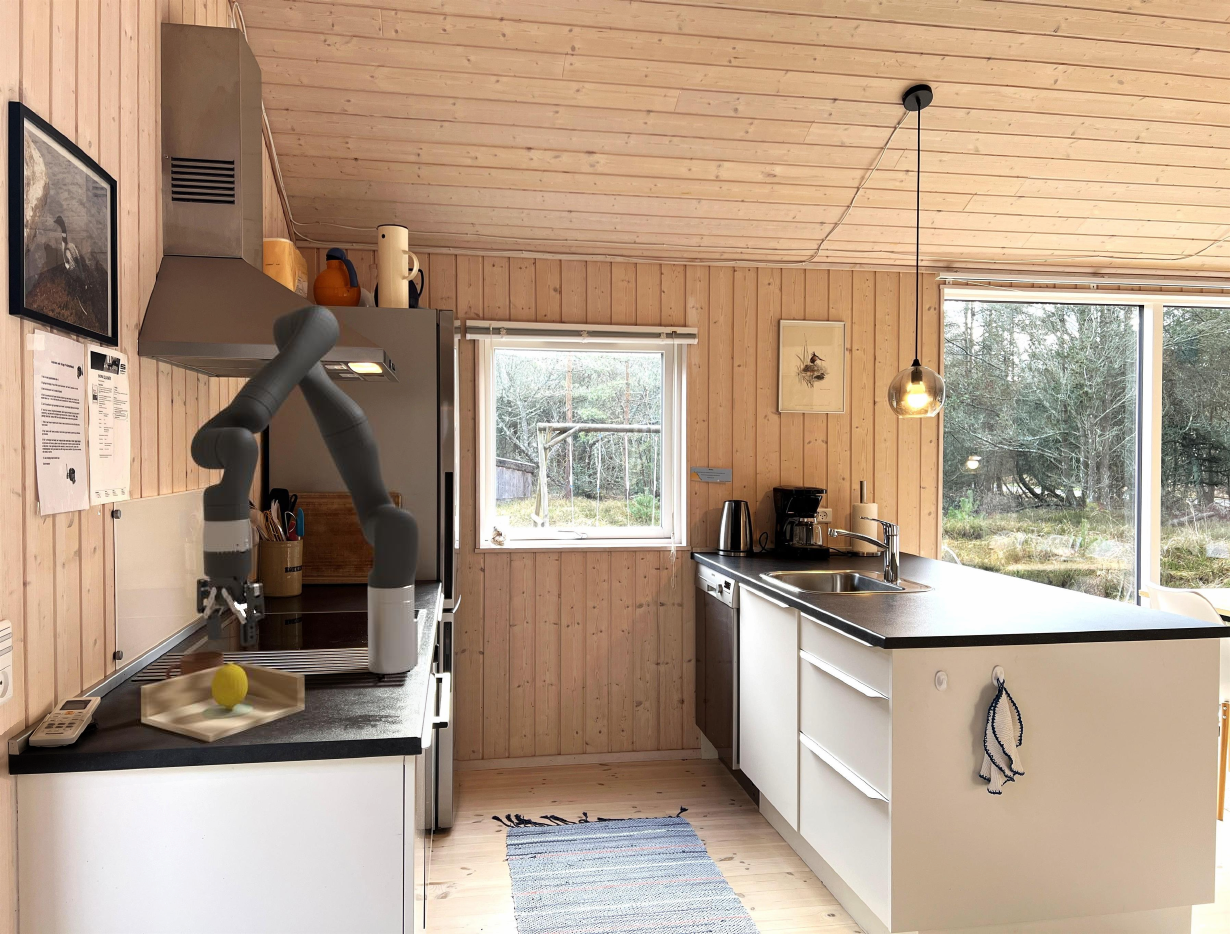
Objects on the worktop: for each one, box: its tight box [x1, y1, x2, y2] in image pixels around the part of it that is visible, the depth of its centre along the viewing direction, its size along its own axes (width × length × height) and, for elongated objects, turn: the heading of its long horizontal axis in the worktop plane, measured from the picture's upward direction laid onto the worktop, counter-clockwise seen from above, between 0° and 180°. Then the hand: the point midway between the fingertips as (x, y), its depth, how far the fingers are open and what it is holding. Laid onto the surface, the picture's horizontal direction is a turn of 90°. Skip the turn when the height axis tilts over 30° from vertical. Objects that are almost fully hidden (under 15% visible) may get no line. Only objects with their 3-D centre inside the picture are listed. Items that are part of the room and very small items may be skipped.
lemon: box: [212, 662, 248, 710], centre depth 141 cm, size 6×6×8 cm
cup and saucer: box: [165, 650, 224, 680], centre depth 158 cm, size 12×12×6 cm
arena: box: [140, 661, 306, 742], centre depth 142 cm, size 18×18×6 cm
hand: (231, 642), depth 141 cm, fingers open, 8 cm apart
